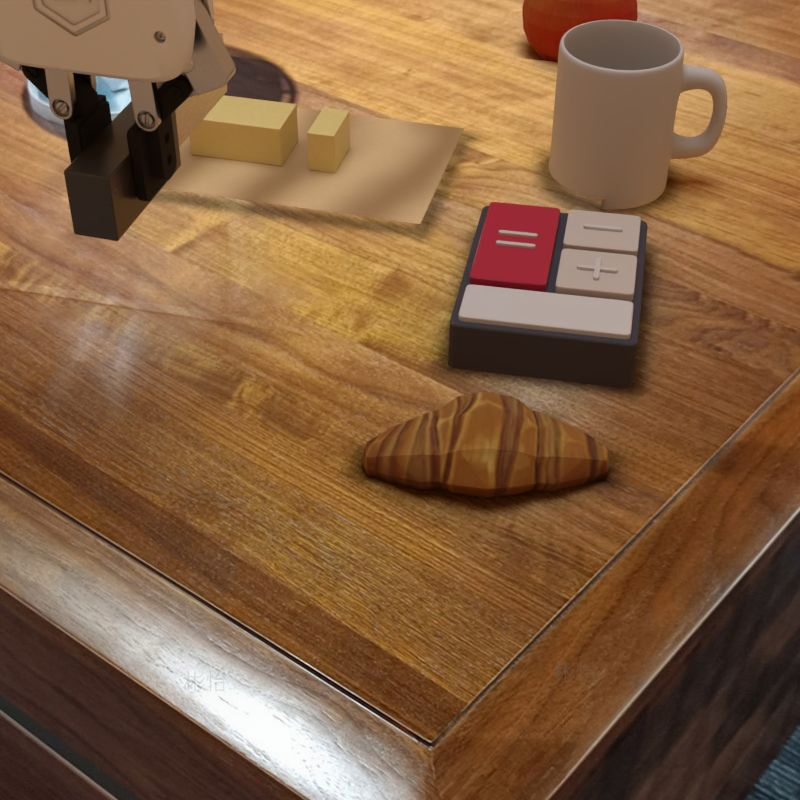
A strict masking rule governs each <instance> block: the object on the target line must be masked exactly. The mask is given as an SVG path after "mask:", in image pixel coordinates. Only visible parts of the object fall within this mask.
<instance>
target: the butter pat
mask: <svg viewBox="0 0 800 800" xmlns="http://www.w3.org/2000/svg"><path fill="white" fill-rule="evenodd" d="M320 111H321V112H320V113H319V115H318V117H317V118H316V120H315V121H314V123H313V124H312V126H311V127H310V129H309V131H308V132H307V143H308V164H309V170H314V171H321V172H329V173H335V172H336V171H337V169H338V167H339V166H340V164H341V162H342V160H343V159H344V157H345V155H346V153H347V152H348V150H349V148H350V110H348V109H340V108H332V107H322V109H321V110H320Z"/></svg>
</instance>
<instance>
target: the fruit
mask: <svg viewBox="0 0 800 800" xmlns="http://www.w3.org/2000/svg"><path fill="white" fill-rule="evenodd" d="M521 11H522V12H521V13H522V14H521V15H522V29H523V32H524V34H525V37H526V40H527V42H528V44H529V45H530V46H531V47H532V49H533V50H534V52H535V53H536V54H537V55H538V57H539V58H540V59H542V60H544V62H553V63H558V54H559V45H560V41H561V38H562V37H563V35H564V34H565V33H566V32H567V31H568V30H570V29H572V28H573V27H576V26H578V25H581V24H584V23H588V22H592V21H599V20H630V21H637V22H638V18H639V15H638V13H639V12H638V0H523V1H522V10H521Z"/></svg>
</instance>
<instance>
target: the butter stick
mask: <svg viewBox="0 0 800 800" xmlns="http://www.w3.org/2000/svg"><path fill="white" fill-rule="evenodd" d="M297 108H298V106H297V103H291V102H282V101H275V100H274V101H273V100H265V99H258V98H249V97H242V96H234V95H233V96H232V95H225V94H224V95H223V97H222V98H221V99H220V100H219V101H218V102H217V104H216V105H215V106H214V107H213V108H212V109H211V111H210V112H209V113H208V114H207V115H206V116H205V118H204V119H203V120H202V121H201V122H200V124H199V125H198V126H197V127H196V128H195V129H194V131H193V132H192V133H191V134H190V135H189V139H190V148H191V154H193V155H200V156H208V157H215V158H223V159H231V160H238V161H246V162H253V163H261V164H268V165H276V166H282V165H283V164H284V162H285V160H286V159H287V157H288V156H289V154H290V153H291V151H292V150H293V148H294V146H295V145H296V143H297V142H298V122H297Z"/></svg>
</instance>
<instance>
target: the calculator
mask: <svg viewBox="0 0 800 800" xmlns="http://www.w3.org/2000/svg"><path fill="white" fill-rule="evenodd" d="M641 218H642V217H640V216H639V215H633V214H622V213H614V212H603V211H594V210H593V211H592V210H584V209H583V210H581V209H570V210H569V211H568V212H561V208H558V207H552V206H551V207H550V206H543V205H532V204H531V205H530V204H522V203H521V204H520V203H511V202H510V203H509V202H500V201H491V202H489V205H485V206H484V207H483V208H482V209H481V213H480V214H479V219H478V223H477V226H476V229H475V232H474V233H475V234H474V236H473V240H472V244H471V247H470V251H469V254H468V257H467V260H466V265H465V267H464V271H463V275H462V278H461V282H460V284H459V288H458V291H457V295H456V298H455V303H454V306H453V309H452V313H451V317H450V320H449V332H448V333H449V334H448V357H447V364H448V366H449V367H450V368H452V369H456V370H463V371H473V372H482V373H490V374H500V375H507V376H515V377H525V378H533V379H541V380H542V379H543V380H550V381H559V382H568V383H576V384H585V385H593V386H601V387H602V386H603V387H611V388H618V389H629V388H631V387H632V386H633V382H634V377H635V376H634V375H635V367H636V361H637V354H638V353H637V352H638V347H639V346H638V345H639V335H640V323H641V312H642V311H641V310H642V301H643V300H642V298H643V287H644V275H645V262H646V249H647V240H648V239H647V238H648V223H647V221H645V220H642V219H641Z"/></svg>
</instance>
